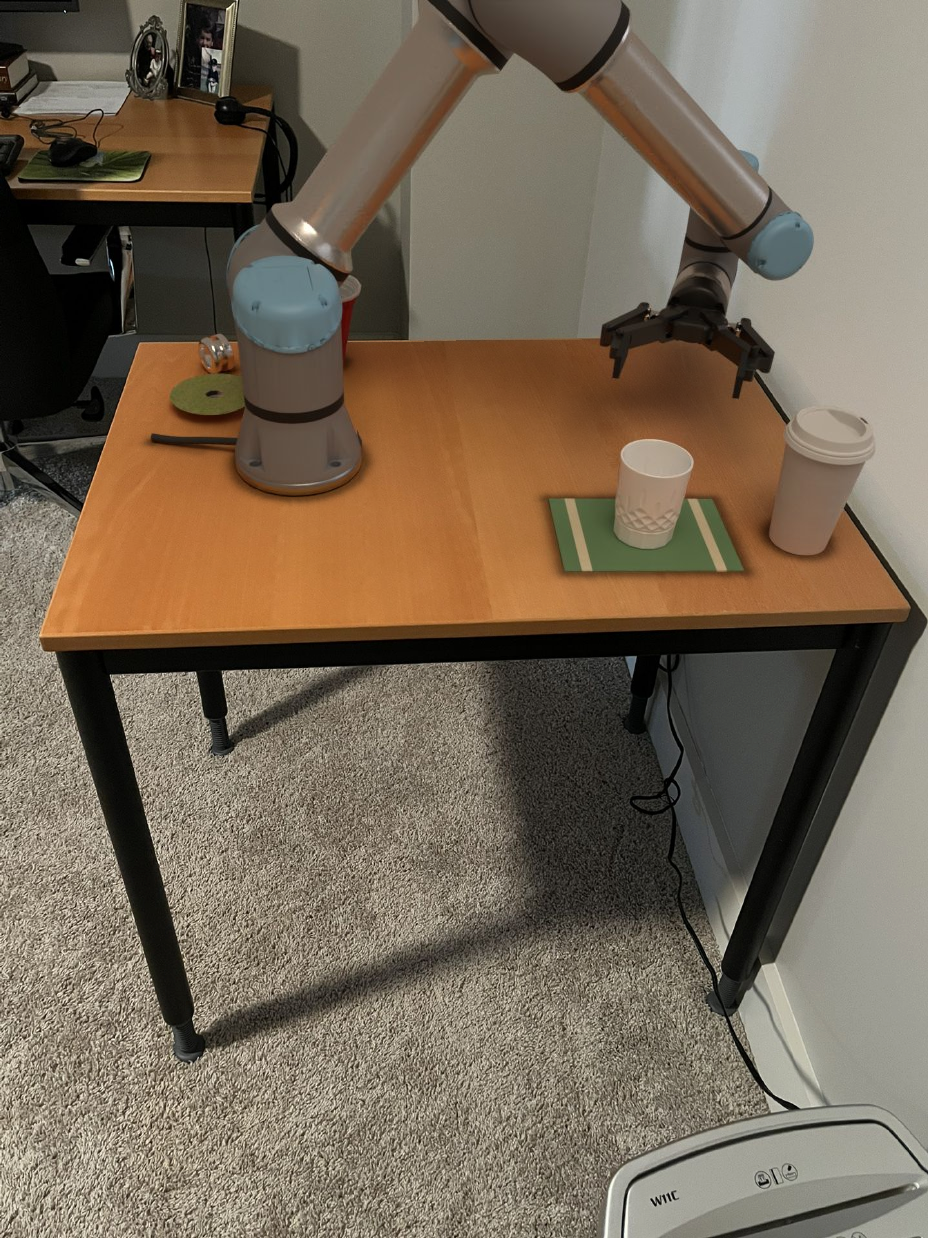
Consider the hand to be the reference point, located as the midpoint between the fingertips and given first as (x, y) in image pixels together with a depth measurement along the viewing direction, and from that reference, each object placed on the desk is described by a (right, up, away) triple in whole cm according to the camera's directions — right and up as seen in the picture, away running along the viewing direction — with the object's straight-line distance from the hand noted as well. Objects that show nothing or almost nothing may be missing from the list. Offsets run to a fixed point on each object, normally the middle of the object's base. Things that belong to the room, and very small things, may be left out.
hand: (676, 377), depth 111 cm
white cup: (-3, -17, +3) cm, 18 cm away
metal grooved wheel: (-59, +8, +28) cm, 66 cm away
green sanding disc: (-57, +1, +21) cm, 61 cm away
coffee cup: (+15, -18, +3) cm, 23 cm away
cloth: (-3, -17, +3) cm, 18 cm away
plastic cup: (-44, +10, +32) cm, 55 cm away
